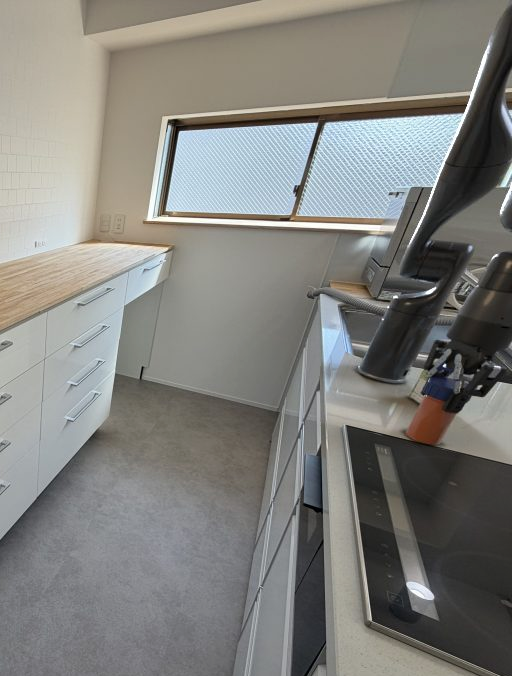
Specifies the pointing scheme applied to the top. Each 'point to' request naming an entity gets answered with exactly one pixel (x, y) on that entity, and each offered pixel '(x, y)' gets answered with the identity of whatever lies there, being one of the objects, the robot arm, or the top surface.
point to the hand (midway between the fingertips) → (438, 403)
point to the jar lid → (440, 388)
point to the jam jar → (430, 422)
